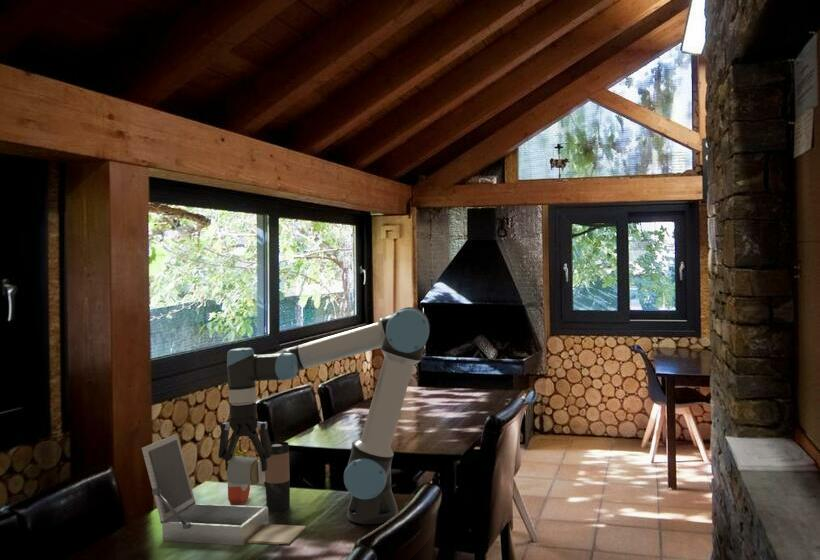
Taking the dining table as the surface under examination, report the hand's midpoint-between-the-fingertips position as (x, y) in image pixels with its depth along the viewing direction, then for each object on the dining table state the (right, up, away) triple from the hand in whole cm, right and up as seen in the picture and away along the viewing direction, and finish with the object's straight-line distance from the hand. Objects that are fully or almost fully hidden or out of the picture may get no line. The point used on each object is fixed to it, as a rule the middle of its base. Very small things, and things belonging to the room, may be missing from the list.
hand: (247, 482), depth 196 cm
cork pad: (+9, -14, -2) cm, 17 cm away
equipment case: (-12, -15, +2) cm, 19 cm away
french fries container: (-9, -15, +29) cm, 34 cm away
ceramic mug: (0, -1, +1) cm, 1 cm away
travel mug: (+5, -15, +22) cm, 27 cm away
